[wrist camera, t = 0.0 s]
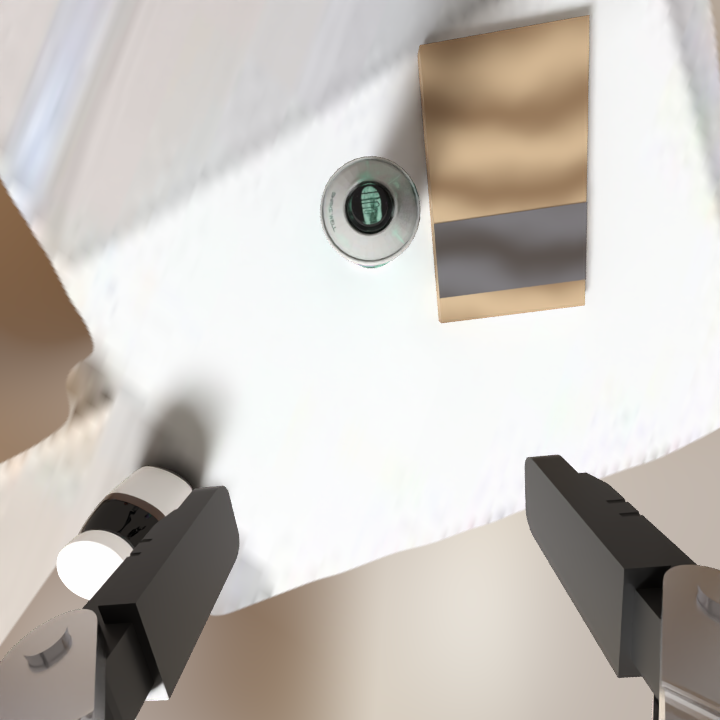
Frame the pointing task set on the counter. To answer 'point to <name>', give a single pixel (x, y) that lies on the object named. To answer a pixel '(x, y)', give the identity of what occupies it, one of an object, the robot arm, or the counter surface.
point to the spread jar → (119, 527)
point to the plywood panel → (507, 168)
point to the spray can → (370, 211)
